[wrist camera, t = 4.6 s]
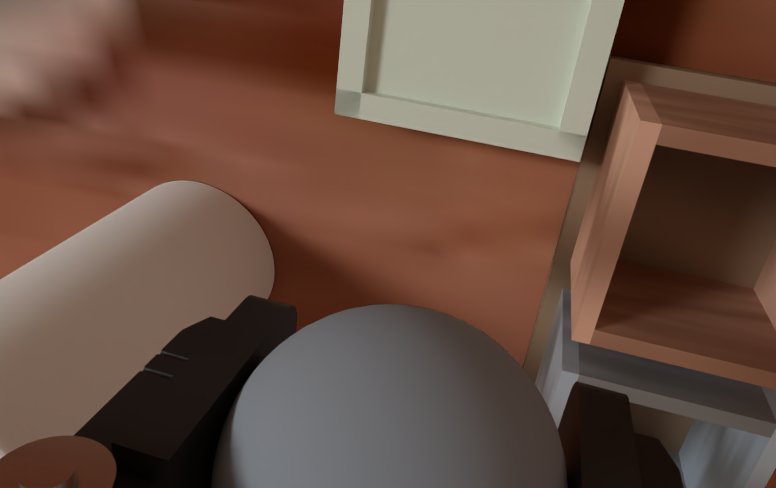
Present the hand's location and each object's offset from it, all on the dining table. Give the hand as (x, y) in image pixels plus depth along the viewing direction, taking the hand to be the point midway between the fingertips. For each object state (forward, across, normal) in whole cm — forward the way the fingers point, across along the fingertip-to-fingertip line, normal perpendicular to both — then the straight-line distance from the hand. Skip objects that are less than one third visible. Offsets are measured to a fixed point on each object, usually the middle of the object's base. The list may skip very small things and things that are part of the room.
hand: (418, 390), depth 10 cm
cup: (+18, +14, +10) cm, 25 cm away
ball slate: (0, 0, 0) cm, 0 cm away
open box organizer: (+18, -8, +6) cm, 20 cm away
